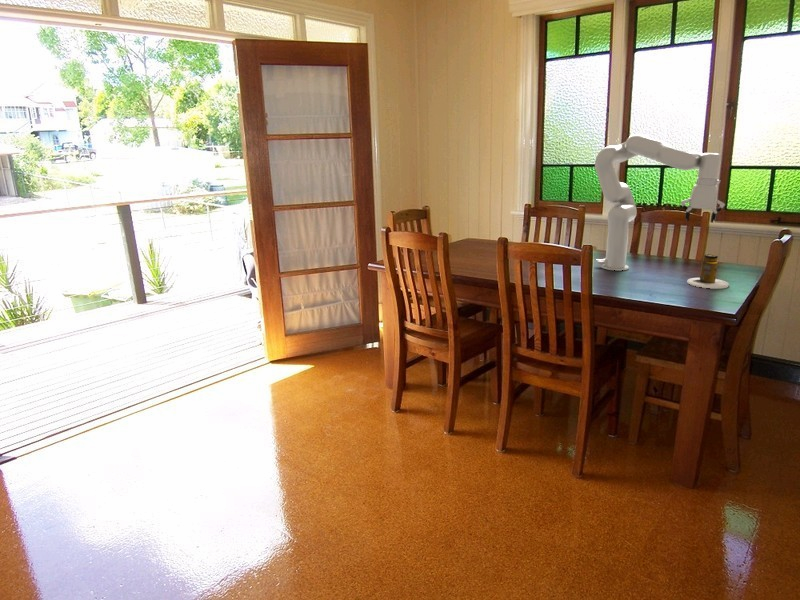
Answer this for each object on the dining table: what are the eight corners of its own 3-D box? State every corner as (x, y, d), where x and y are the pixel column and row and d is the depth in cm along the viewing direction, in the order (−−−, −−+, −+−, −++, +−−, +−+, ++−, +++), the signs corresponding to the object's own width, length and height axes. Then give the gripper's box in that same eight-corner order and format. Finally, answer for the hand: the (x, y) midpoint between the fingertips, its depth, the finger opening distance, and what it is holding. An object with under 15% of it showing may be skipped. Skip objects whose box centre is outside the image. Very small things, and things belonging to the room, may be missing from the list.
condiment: (719, 282, 238) (723, 255, 234) (706, 285, 234) (710, 257, 231) (704, 278, 244) (708, 252, 241) (691, 281, 240) (695, 254, 237)
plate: (689, 287, 235) (690, 285, 234) (685, 278, 249) (685, 276, 249) (731, 290, 229) (732, 287, 229) (724, 281, 243) (724, 278, 243)
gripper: (727, 182, 236) (720, 221, 241) (683, 180, 242) (677, 218, 247) (730, 184, 229) (722, 224, 235) (685, 182, 236) (678, 221, 241)
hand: (699, 221), depth 241 cm, fingers open, 9 cm apart
